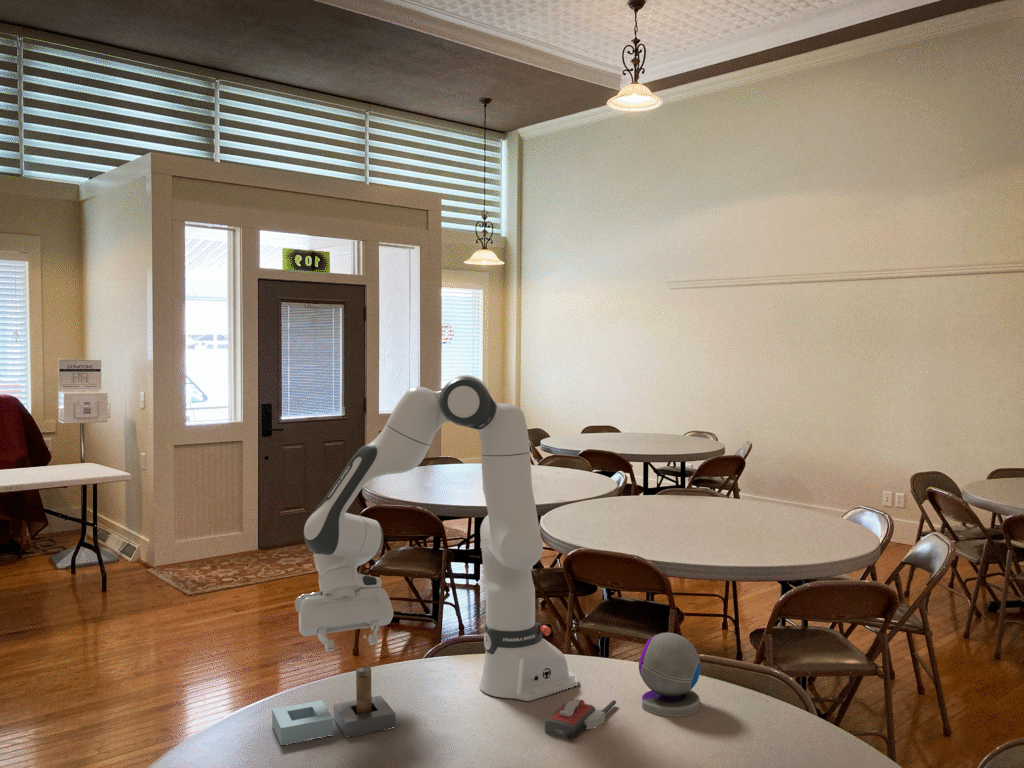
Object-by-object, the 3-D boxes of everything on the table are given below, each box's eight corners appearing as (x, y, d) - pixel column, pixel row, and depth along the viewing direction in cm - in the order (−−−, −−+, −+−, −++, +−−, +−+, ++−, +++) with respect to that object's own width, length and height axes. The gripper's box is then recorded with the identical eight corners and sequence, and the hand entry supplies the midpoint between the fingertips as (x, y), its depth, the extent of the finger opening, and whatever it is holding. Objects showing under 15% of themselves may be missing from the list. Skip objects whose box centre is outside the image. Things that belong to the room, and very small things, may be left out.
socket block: (381, 709, 173) (380, 695, 173) (395, 727, 164) (395, 713, 164) (333, 718, 169) (333, 704, 169) (346, 737, 160) (345, 722, 160)
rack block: (321, 716, 170) (321, 700, 170) (333, 735, 161) (333, 718, 161) (272, 726, 166) (272, 708, 166) (281, 746, 157) (281, 728, 156)
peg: (369, 719, 169) (368, 665, 168) (373, 724, 166) (373, 670, 166) (355, 721, 167) (354, 668, 167) (358, 727, 165) (358, 673, 164)
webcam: (648, 688, 184) (648, 622, 183) (706, 698, 178) (706, 629, 178) (632, 710, 172) (631, 639, 172) (693, 721, 166) (692, 647, 166)
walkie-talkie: (580, 747, 156) (619, 709, 174) (580, 724, 156) (619, 688, 174) (539, 737, 161) (581, 701, 178) (539, 715, 161) (581, 680, 178)
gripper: (295, 587, 176) (304, 646, 168) (387, 577, 185) (401, 632, 177) (291, 603, 180) (300, 661, 172) (381, 592, 189) (394, 647, 181)
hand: (352, 646), depth 174 cm, fingers open, 8 cm apart
